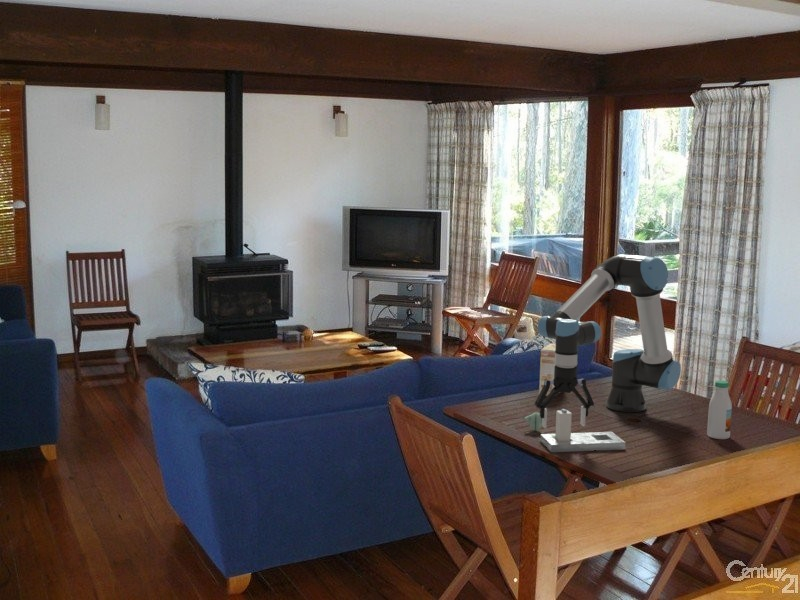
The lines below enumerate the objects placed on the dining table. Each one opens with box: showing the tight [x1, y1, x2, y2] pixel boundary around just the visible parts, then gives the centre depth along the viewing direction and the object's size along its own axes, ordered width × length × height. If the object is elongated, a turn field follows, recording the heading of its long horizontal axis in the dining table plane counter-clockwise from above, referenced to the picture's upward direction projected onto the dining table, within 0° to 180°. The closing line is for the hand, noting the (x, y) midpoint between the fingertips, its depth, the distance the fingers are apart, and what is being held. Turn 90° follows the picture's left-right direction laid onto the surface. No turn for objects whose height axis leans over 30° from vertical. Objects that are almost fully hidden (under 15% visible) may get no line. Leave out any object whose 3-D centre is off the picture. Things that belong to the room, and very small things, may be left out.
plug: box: [554, 408, 573, 442], centre depth 303 cm, size 4×4×13 cm
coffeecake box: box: [538, 342, 561, 397], centre depth 374 cm, size 15×7×20 cm, turn 155°
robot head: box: [524, 411, 543, 432], centre depth 321 cm, size 8×4×7 cm, turn 78°
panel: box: [539, 431, 626, 453], centre depth 305 cm, size 26×12×3 cm, turn 99°
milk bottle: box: [706, 380, 733, 440], centre depth 315 cm, size 8×8×20 cm
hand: (563, 426), depth 303 cm, fingers open, 13 cm apart
